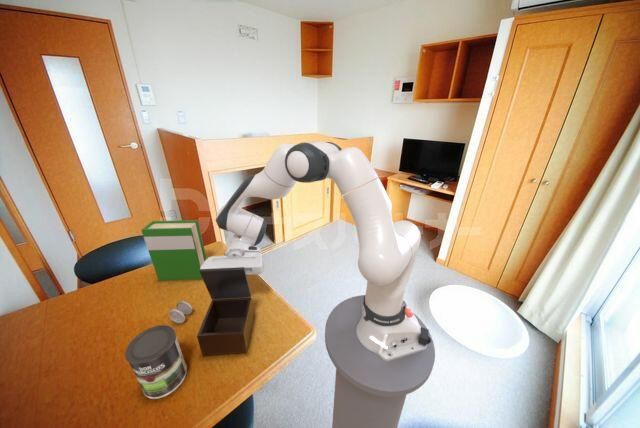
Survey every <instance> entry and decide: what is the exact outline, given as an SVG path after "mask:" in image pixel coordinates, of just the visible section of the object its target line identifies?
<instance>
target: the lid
mask: <svg viewBox="0 0 640 428" xmlns="http://www.w3.org/2000/svg"><path fill="white" fill-rule="evenodd" d="M199 272H200V274H201V276H202V278H203V279H202V280H203V283H204V285H205V287H206V290H207V292H208V295H209V296H210V299H211V300H213V299H231V298H248V297H251V298H252V292H251V288H250V284H249V280H248V275H246V272H245V268H244V267H238V268H216V269H200V271H199Z"/></svg>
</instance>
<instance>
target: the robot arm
mask: <svg viewBox="0 0 640 428" xmlns="http://www.w3.org/2000/svg"><path fill="white" fill-rule="evenodd" d="M326 179H329V180H331V181H332V182H333V183H334V184H335V185H336V187H337V188H338V191H339V192H340V195H341V197H342V199H343V200H344V203H345V205H346V207H347V209H348V211H349V213H350V215H351V217H352V220H353V223H354V226H355V229H356V235H357V241H358V251H359V252H358V258H357V268H358V271H359V273H360V274H361V276H362V277H363V278H364V279H365V280H366V289H365V294H364V295H365V296H364V300H363V305H362V316H361V319H360V321H359V323H358V325H357V328H356V334H357V337H358V339H359V341H360V342H361V344H362V345H363V346H364V347H365V348H367V349H368V350H370V351H372V352H374V353H376V354H378V355H379V356H380V357H381V358H382V359H383V360H385V361H391V360H394V359H397V358H400V357H404V356H407V355H410V354H414V353H417V352H420V351H423V350H426V348H427V344H429V343H430V342H431V339H430V337H429V336H428V334H429V333H430V329H428V328H427V329H425V328H423V327H421V326H420V325H419V322H418V320H417V318H416V317H415V315H416V314H415V313H414V312H413V311H412V310H411V308H409V307H408V306H407V303H406V301H405V300H404V298H405V293H406V290H407V285H408V283H409V280H410V277H411V275H412V271H413V268H414V265H415V261H416V258H417V255H418V251H419V247H420V245H421V239H422V234H421V231H420V229H419V228H418V226H417V225H416V224H415V223H413V222H411V221H410V220H404V219H403V220H398V221H394V220H393V215H392V214H393V213H392V209H393V208H392V207H393V204H392V200H391V199H390V196H389V194H388V193H387V191H386V189H385V186H384V184H383V183H382V181H381V179H380V177H379V175H378V173H377V171H376V169H375V168H374V165H373V164H372V163H371V162H370V160H369V159H368V157H367V155H365V153H364V152H363V151H362V150H361V149H360V148H359V147H355V146H349V147H345V148H343V149H342V148H341V147H340V146H339V145H338V144H336V143H335V142H332V141H319V140H314V141H308V142H306V141H305V142H300V143H297V144H294V143H291V142H283V143H281V144H280V145H279V146H277V147H276V149H275V150H274V151H273V153H272V154H271V156H270V157H269V159H268V160H267V162H266V164H265V166H264V168H263V169H262V170H261V171H259V172H258V173H256V174H250V175H248V176H247V177H246V178H245V179H244V180H243V182H242V183H241V184H240V185H239V186H238V188H237V189H236V190H235V191H234V193H233V194H232V195H231V196H230V198H229V199H228V201H227V202H226V203H225V204H224V205H223V206H221V208H220V209H219V210H218V212H217V214H216V215H215V222H216V225H217V226H218V228H219V229H221V230H224V231H225V232H226V231H227V232H230V233H232V234H233V236H232V238H231V240H230V243H229V244H228V245H227V248H226V250H225V252H224V254H223V255H211V256H209V257H206V258H207V259H206V260H205V262H204V263H203V264H202V265H201V267H200V269H216V268H238V267H244V268H245V272H246V276H251V275H253V276H254V275H261V274H263V273H264V269H265V268H264V267H265V266H264V259H263V253H262V248H261V247H259V246H257V245H259V244H261V242H262V241H263V239H264V237H265V234H266V230H267V227H268V225H267V221H266V219H265V218H263V217H261V216H259V215H257V214H255V213H253V212H250V211H248V210H246V209H244V208H242V207H240V206H241V205H242V203H243V202H244V201H245V200H246V199H248V198H252V197H253V198H262V199H267V200H279V199H283V198H285V197H286V196H287V195H288V194H289V193H290V192H291V191H292V189H293V188H294V186H295V185H296V184H297V182H298V183H302V184H303V183H304V184H310V183H315V182H319V181H324V180H326ZM413 313H414V314H415V315H414V314H413ZM389 355H390V356H389Z"/></svg>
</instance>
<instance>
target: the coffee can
mask: <svg viewBox="0 0 640 428" xmlns="http://www.w3.org/2000/svg"><path fill="white" fill-rule="evenodd" d="M124 356H125V360H126V361H127V362H128V364H129V366H130V367H131V370H132V371H133V373H134V375H135V377H136V379H137V382H138V383H139V385H140V388H141V389H142V392H143V395H144V396H145V397H146V398H147V399H151V400H157V399H161V398H164V397H165V398H166V397H167V396H168V395H170V394H172V393H174V392H175V391H176V390H177V389H178V388H180V386H181V384H182V383H183V382H184V381H185V379H186V377H187V375H188V374H187V373H188V365H187V363H186V361H185V358H184V355H183V351H182V350H181V346H180V344H179V340H178V337H177V332H176V329H175V328H174V327H172V326H170V325H167V324H158V325H155V326H152V327H149V328H146V329H145V330H143V331H142V332H140V333H139V334H138V335H136V336H135V337H134V338H132V340H131V341H129V343H128V346H127V347H126V349H125V352H124Z"/></svg>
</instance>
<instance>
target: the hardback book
mask: <svg viewBox="0 0 640 428" xmlns="http://www.w3.org/2000/svg"><path fill="white" fill-rule="evenodd" d="M141 234H142V236H143V239H144V242H145V245H146V248H147V250H148V253H149V256H150V260H151V261H152V262H151V263H152V265H153V268H154V271H155V275H156V277H157V279H158V281H187V280H203V278H202V276H201V274H200V272H199V271H200V267H201V265H202V264H203V263H204V262H205V260H206V259H207V258H208V257H207V254H206V249H205V246H204V240H203V235H202V232H201V227H200V222H199V220H198V219H188V220H181V219H180V220H151V222H149V223H148V224H147V225H146V226H144V227H143V228H141Z"/></svg>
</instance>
